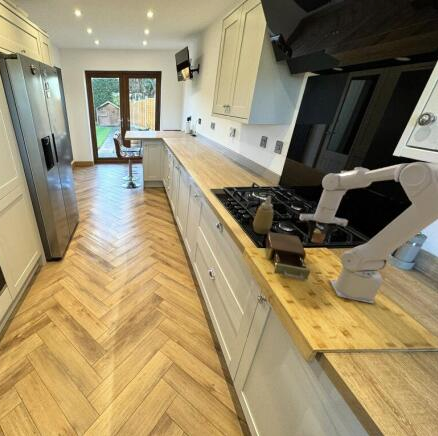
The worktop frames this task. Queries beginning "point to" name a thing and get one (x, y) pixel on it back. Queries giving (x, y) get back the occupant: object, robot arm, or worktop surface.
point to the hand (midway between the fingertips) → (315, 238)
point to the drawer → (290, 265)
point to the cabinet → (283, 244)
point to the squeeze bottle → (264, 217)
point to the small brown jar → (318, 236)
